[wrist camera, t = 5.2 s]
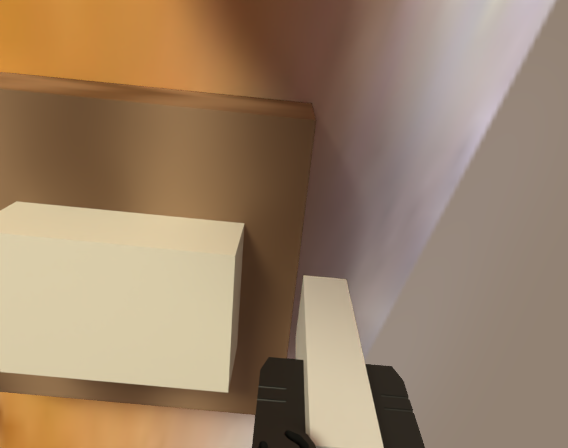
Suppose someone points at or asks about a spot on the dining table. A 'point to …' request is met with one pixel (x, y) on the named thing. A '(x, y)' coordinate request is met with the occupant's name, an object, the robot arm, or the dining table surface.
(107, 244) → the ceramic tile
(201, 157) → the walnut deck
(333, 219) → the dining table surface
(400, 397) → the robot arm
